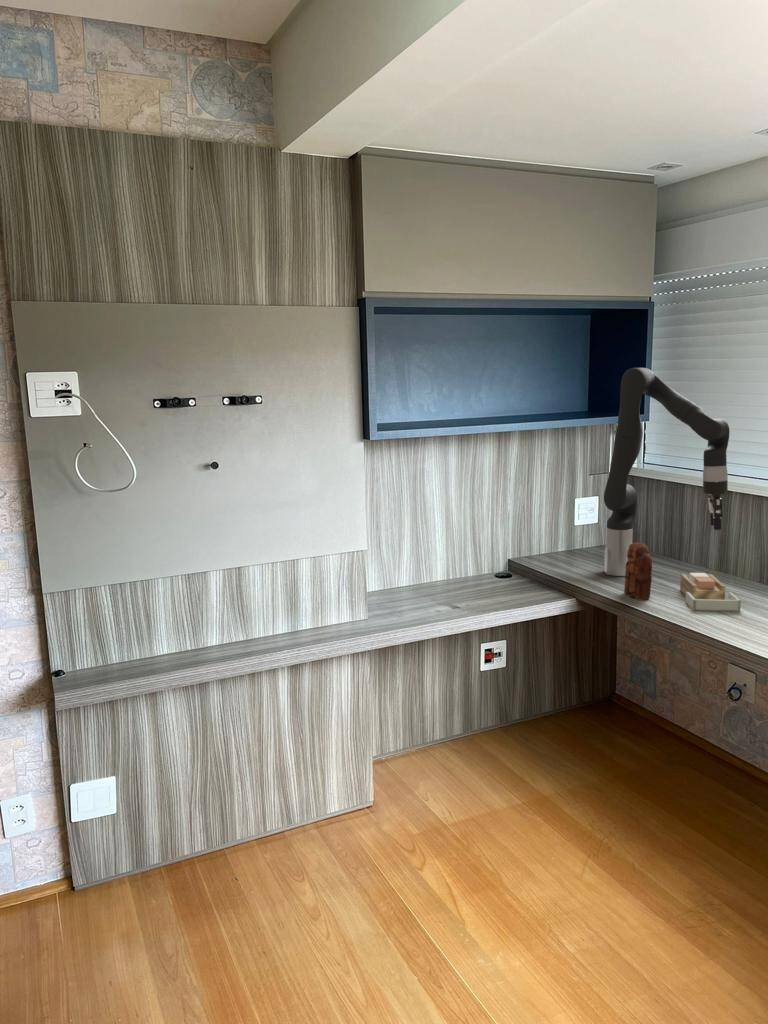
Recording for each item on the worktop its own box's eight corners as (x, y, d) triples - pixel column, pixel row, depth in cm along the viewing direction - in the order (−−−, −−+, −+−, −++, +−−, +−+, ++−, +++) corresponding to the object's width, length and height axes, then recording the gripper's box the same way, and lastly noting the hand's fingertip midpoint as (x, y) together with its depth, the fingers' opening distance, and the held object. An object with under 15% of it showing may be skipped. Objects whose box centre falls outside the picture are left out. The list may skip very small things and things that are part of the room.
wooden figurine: (618, 591, 262) (620, 540, 259) (635, 590, 264) (637, 538, 261) (637, 601, 251) (640, 547, 248) (655, 599, 252) (657, 546, 249)
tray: (693, 610, 240) (693, 600, 239) (685, 602, 249) (686, 591, 248) (740, 611, 238) (740, 600, 238) (730, 603, 247) (731, 592, 246)
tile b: (698, 588, 250) (698, 581, 250) (694, 584, 255) (694, 577, 254) (714, 588, 249) (715, 581, 249) (710, 584, 254) (710, 577, 254)
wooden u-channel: (691, 602, 249) (692, 585, 248) (680, 589, 263) (680, 573, 262) (724, 603, 247) (725, 586, 246) (710, 590, 262) (711, 574, 261)
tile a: (693, 583, 256) (693, 576, 255) (689, 579, 261) (689, 572, 260) (709, 583, 255) (709, 576, 255) (704, 579, 260) (705, 572, 260)
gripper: (700, 477, 263) (701, 524, 265) (705, 482, 250) (706, 531, 252) (724, 476, 261) (724, 523, 263) (730, 481, 248) (731, 530, 250)
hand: (715, 527), depth 258 cm, fingers open, 8 cm apart
